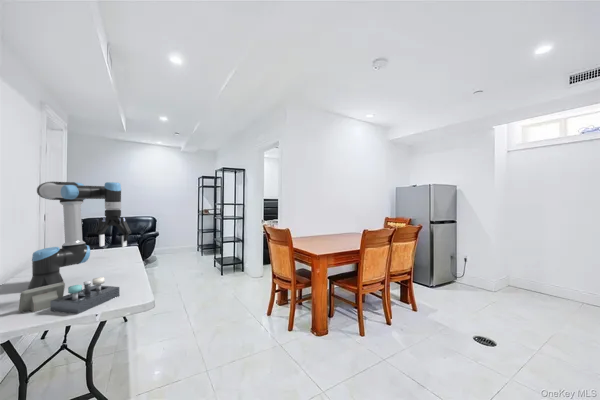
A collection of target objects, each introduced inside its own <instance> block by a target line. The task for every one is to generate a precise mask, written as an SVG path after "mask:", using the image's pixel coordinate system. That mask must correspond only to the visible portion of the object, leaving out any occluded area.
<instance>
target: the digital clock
mask: <svg viewBox="0 0 600 400" xmlns="http://www.w3.org/2000/svg"><path fill="white" fill-rule="evenodd" d="M65 288H66V283H65V282H62V283H57V284H52V285H48V286H43V287H39V288H34V289H30V290H28V289H26V290H23V291H21V292H20V295H19V297H20V298H19V303H18V312H20V313H22V312H26V311H27V312H28V311H31V312H33V313H36V312H39V311H44V310H46V309H51V300H54V299H57V298H60V297H63V296H64V293H65Z"/></svg>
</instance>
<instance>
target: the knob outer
mask: <svg viewBox="0 0 600 400" xmlns="http://www.w3.org/2000/svg"><path fill="white" fill-rule="evenodd" d="M67 289H68V290H67V293H68V294H71V293H72V298H73V301H75V300H77V299H78V292H80V291H82V290H83V285H82V284H75V285H74V284H73V285H70V286H68V287H67Z"/></svg>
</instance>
